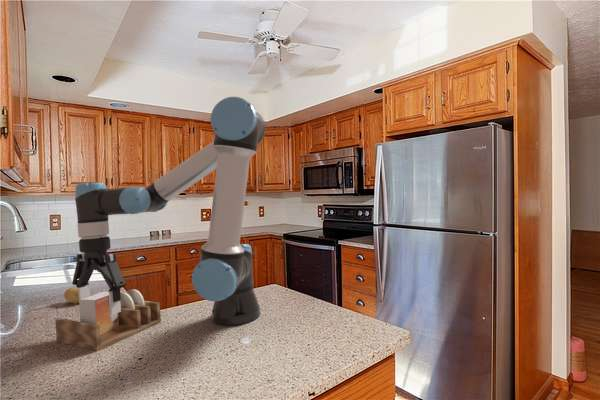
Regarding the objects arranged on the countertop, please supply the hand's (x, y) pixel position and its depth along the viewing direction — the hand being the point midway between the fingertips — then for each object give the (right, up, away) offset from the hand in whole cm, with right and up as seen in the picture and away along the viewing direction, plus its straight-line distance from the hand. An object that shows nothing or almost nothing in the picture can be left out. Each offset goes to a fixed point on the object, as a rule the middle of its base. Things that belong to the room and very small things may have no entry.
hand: (100, 311), depth 93 cm
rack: (+1, -7, +3) cm, 8 cm away
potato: (-30, -9, +34) cm, 46 cm away
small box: (0, -6, 0) cm, 6 cm away
